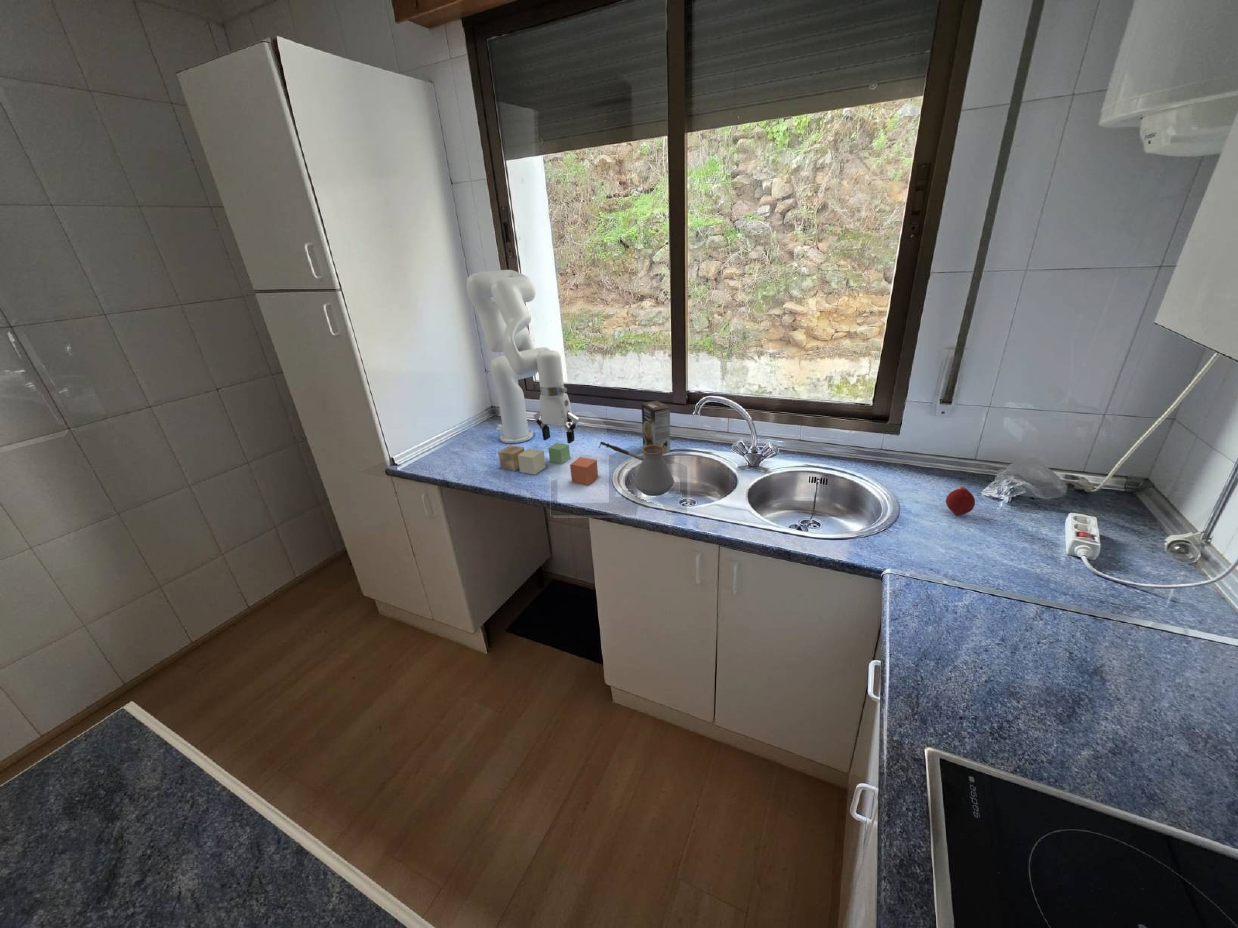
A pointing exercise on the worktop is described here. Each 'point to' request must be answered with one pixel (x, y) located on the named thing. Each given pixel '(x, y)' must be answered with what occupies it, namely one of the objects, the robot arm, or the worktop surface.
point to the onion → (960, 501)
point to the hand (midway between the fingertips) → (558, 440)
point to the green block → (559, 453)
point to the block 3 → (584, 470)
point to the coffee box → (656, 424)
